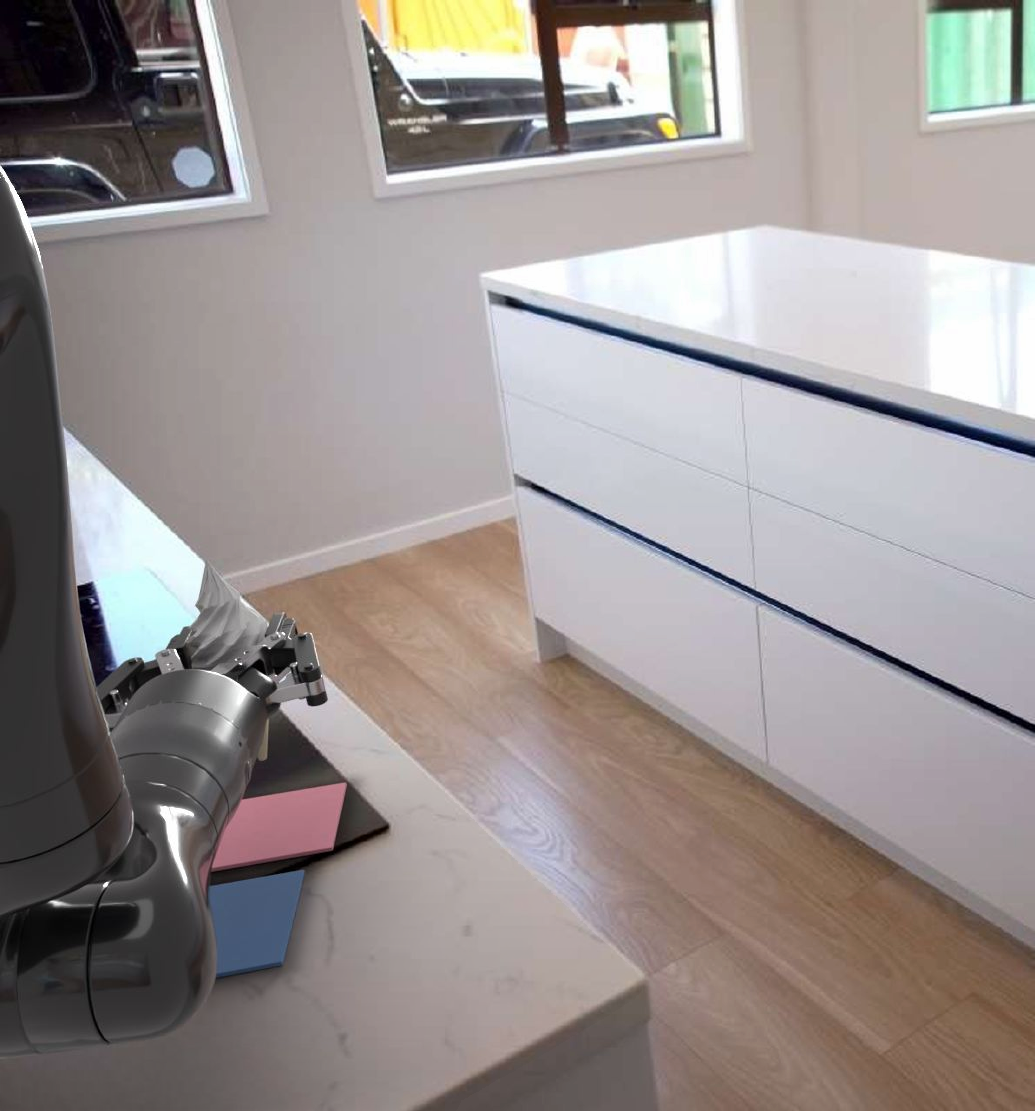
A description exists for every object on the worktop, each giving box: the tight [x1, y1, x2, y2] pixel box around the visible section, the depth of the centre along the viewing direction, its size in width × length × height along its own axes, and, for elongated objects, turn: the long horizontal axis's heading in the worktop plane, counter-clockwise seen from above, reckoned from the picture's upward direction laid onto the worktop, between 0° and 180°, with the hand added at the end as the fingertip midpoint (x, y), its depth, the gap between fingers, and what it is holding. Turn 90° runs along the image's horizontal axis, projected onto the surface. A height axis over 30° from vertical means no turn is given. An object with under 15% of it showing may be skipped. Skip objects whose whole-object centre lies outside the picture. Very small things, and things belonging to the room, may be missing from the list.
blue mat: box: [210, 869, 306, 979], centre depth 79 cm, size 10×9×1 cm
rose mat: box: [211, 781, 348, 873], centre depth 89 cm, size 8×8×1 cm
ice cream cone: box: [186, 558, 270, 762], centre depth 83 cm, size 5×5×15 cm
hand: (238, 632), depth 85 cm, fingers closed on ice cream cone, 5 cm apart
